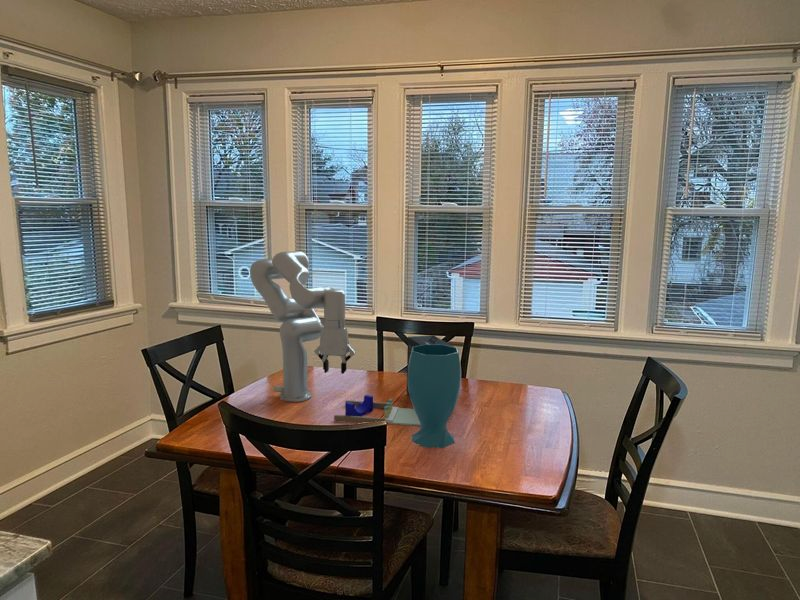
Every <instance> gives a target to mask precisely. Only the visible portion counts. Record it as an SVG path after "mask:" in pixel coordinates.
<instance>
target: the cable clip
mask: <svg viewBox="0 0 800 600" xmlns="http://www.w3.org/2000/svg"><path fill="white" fill-rule="evenodd" d="M362 401H363V402H361V403H359V405H358V406H357V407H355V404H354V403H350V402H347V403H344V404H345V408H344V409H345V415H346V416H360V417H364V416H365V415H367V414H370V413H372V412H374V408H373V402H374V396H373V395H370V394H365V395H364V396H363V400H362Z"/></svg>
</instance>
